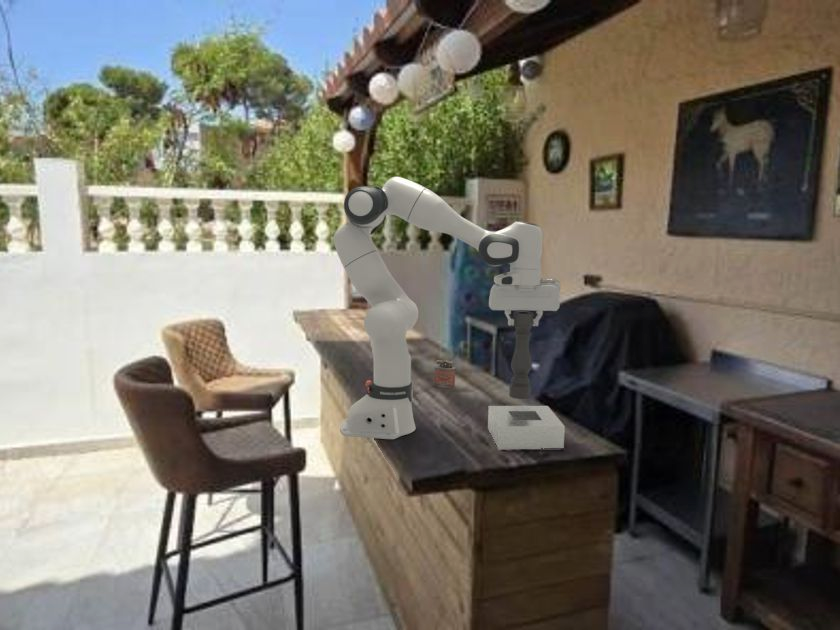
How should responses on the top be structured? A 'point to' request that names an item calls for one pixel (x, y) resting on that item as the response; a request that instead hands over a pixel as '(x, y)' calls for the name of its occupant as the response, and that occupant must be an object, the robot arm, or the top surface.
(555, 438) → the sleeve block
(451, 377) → the lighter
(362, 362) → the top surface
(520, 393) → the candle holder
